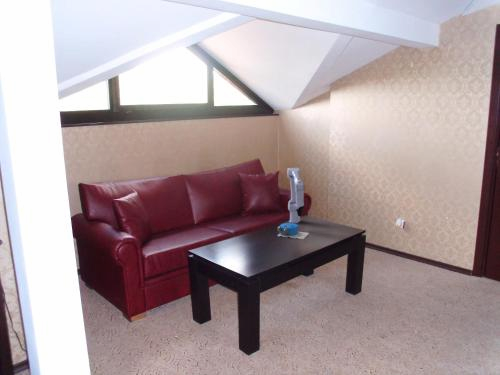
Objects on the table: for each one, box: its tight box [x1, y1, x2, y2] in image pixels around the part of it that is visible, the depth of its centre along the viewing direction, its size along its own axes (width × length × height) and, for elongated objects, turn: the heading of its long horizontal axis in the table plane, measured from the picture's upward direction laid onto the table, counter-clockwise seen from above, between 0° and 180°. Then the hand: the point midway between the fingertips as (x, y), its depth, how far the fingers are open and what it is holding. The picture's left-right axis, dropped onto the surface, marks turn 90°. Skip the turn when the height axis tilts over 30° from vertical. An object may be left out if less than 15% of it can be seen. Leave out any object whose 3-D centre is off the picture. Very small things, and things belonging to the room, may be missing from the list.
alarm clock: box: [276, 222, 299, 236], centre depth 303 cm, size 13×6×15 cm
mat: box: [277, 231, 310, 240], centre depth 301 cm, size 14×20×1 cm
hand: (299, 216), depth 313 cm, fingers closed
